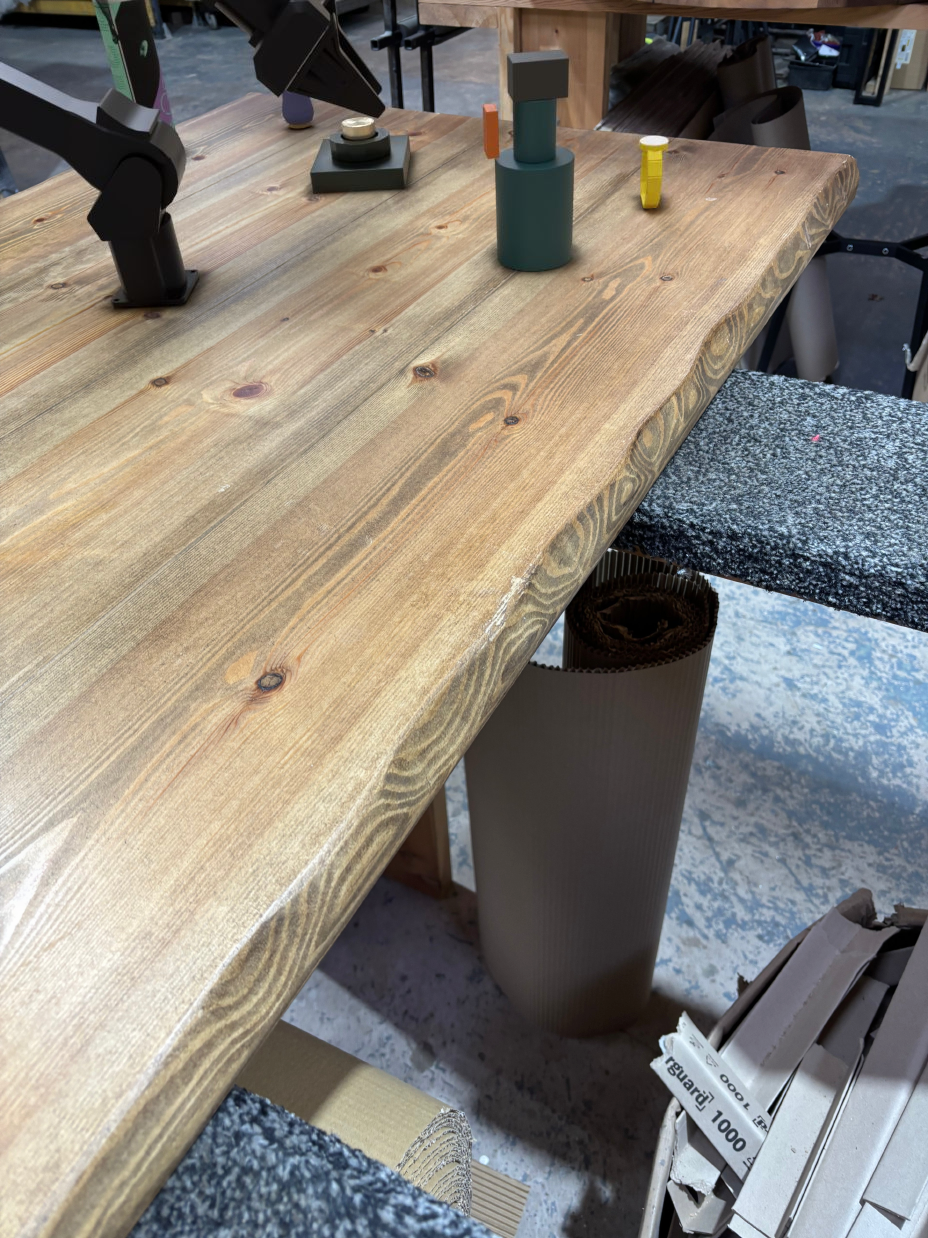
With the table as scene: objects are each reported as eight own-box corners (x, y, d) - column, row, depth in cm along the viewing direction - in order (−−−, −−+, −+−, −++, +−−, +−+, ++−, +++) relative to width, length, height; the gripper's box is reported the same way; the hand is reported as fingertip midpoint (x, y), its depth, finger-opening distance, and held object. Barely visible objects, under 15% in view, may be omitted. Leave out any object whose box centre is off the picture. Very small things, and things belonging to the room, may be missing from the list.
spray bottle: (502, 274, 82) (497, 69, 72) (492, 245, 87) (486, 49, 76) (578, 267, 83) (585, 62, 72) (564, 238, 88) (568, 43, 77)
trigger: (487, 158, 78) (486, 111, 75) (484, 150, 80) (482, 103, 77) (499, 157, 78) (498, 110, 75) (495, 149, 80) (494, 102, 77)
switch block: (405, 189, 100) (401, 149, 98) (313, 193, 101) (306, 154, 98) (410, 154, 109) (407, 116, 106) (326, 158, 109) (320, 121, 107)
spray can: (175, 163, 111) (125, -40, 98) (130, 165, 111) (74, -37, 98) (186, 149, 115) (139, -48, 102) (143, 151, 115) (91, -45, 102)
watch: (631, 193, 96) (636, 130, 92) (659, 192, 95) (664, 129, 91) (637, 214, 91) (642, 149, 87) (666, 213, 91) (672, 148, 87)
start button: (374, 142, 101) (372, 125, 100) (341, 144, 101) (339, 127, 100) (377, 133, 104) (375, 115, 102) (345, 134, 104) (343, 117, 103)
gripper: (269, -154, 57) (458, 40, 65) (280, -169, 71) (435, -8, 78) (173, 9, 62) (360, 170, 70) (201, -35, 75) (354, 104, 83)
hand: (380, 102), depth 75 cm, fingers open, 6 cm apart
